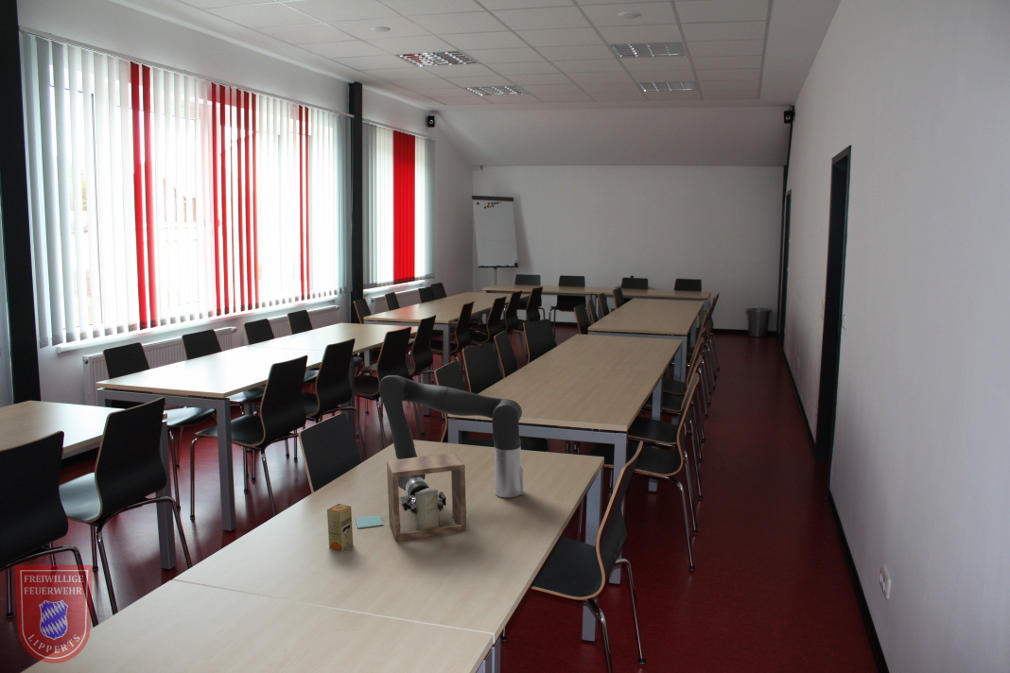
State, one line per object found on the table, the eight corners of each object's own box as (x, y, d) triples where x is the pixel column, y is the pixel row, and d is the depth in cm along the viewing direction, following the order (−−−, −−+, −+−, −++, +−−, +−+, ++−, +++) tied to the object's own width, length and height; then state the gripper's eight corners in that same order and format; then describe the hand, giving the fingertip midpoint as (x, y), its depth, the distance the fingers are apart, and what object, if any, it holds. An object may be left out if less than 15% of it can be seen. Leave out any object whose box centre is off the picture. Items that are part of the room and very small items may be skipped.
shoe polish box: (329, 547, 215) (327, 509, 214) (340, 541, 220) (338, 503, 218) (342, 551, 213) (340, 512, 211) (353, 544, 217) (351, 506, 216)
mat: (379, 516, 238) (379, 514, 238) (383, 525, 231) (383, 524, 231) (355, 519, 236) (355, 518, 236) (357, 528, 229) (357, 527, 228)
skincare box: (425, 533, 224) (424, 496, 222) (415, 530, 227) (414, 493, 225) (439, 526, 229) (438, 490, 227) (429, 523, 232) (428, 487, 230)
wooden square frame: (457, 516, 237) (455, 452, 234) (466, 531, 226) (464, 464, 222) (389, 525, 230) (386, 460, 227) (395, 541, 219) (392, 472, 216)
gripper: (396, 483, 238) (404, 501, 222) (439, 478, 242) (450, 495, 226) (397, 505, 239) (405, 524, 223) (440, 499, 243) (451, 518, 228)
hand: (428, 509), depth 225 cm, fingers closed on skincare box, 7 cm apart
